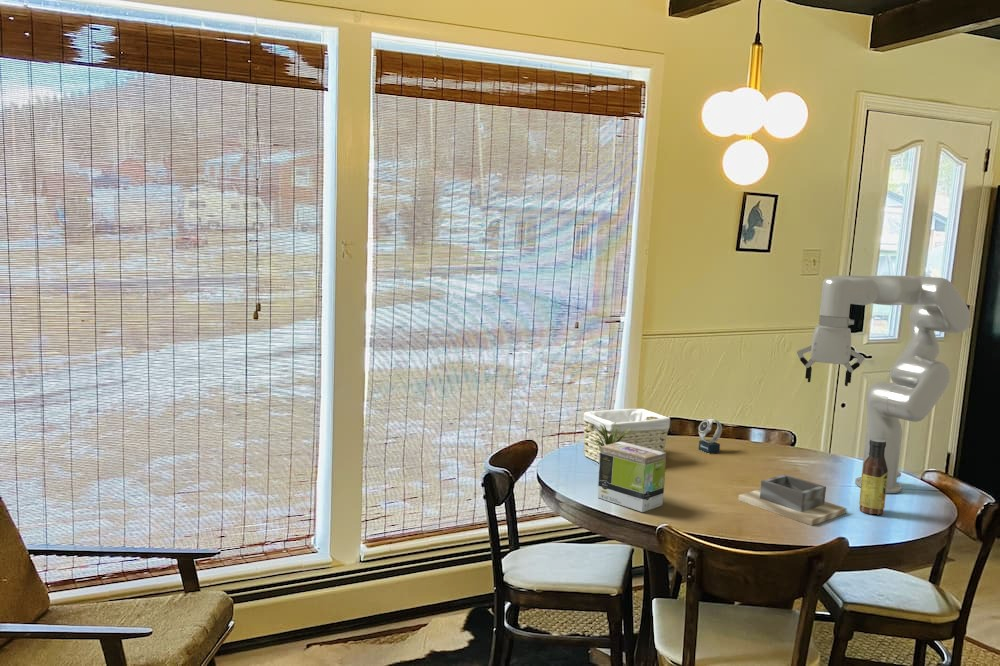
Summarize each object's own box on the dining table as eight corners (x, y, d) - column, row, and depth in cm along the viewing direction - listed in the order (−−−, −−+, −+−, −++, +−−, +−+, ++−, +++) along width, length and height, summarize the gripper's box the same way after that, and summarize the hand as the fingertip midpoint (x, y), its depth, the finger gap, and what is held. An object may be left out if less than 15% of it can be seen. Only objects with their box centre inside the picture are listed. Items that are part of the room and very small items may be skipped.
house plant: (575, 477, 235) (578, 423, 233) (587, 465, 248) (590, 413, 246) (623, 485, 230) (627, 429, 228) (633, 472, 243) (637, 419, 241)
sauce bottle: (886, 517, 214) (894, 444, 212) (861, 514, 215) (869, 442, 213) (879, 509, 220) (888, 438, 218) (855, 506, 222) (863, 436, 219)
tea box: (663, 505, 215) (668, 451, 213) (642, 513, 208) (646, 458, 206) (618, 490, 225) (621, 439, 223) (595, 498, 218) (599, 445, 216)
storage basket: (637, 449, 270) (640, 406, 268) (669, 462, 256) (673, 417, 254) (578, 456, 258) (581, 411, 256) (608, 470, 244) (611, 423, 242)
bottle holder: (773, 490, 233) (775, 468, 232) (845, 513, 216) (848, 490, 215) (738, 500, 222) (740, 477, 221) (811, 525, 205) (814, 501, 204)
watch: (693, 449, 272) (696, 418, 271) (713, 448, 275) (716, 417, 274) (703, 454, 267) (706, 422, 266) (723, 452, 270) (726, 420, 269)
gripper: (867, 323, 222) (860, 384, 225) (800, 318, 229) (795, 377, 231) (868, 326, 215) (861, 389, 218) (799, 321, 222) (793, 382, 224)
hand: (827, 383), depth 224 cm, fingers open, 9 cm apart
